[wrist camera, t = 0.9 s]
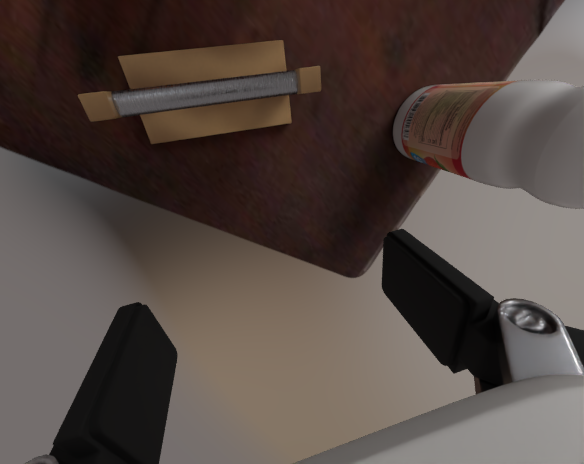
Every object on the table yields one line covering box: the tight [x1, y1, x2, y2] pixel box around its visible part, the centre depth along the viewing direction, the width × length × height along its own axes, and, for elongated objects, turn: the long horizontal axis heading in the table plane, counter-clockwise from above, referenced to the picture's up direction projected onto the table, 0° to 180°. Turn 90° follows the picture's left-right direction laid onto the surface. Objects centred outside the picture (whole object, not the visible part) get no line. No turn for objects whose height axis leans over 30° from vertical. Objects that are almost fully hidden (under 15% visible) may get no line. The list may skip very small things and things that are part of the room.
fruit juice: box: [393, 80, 584, 209], centre depth 23 cm, size 9×9×28 cm
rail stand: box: [78, 40, 321, 144], centre depth 22 cm, size 8×16×12 cm, turn 96°
